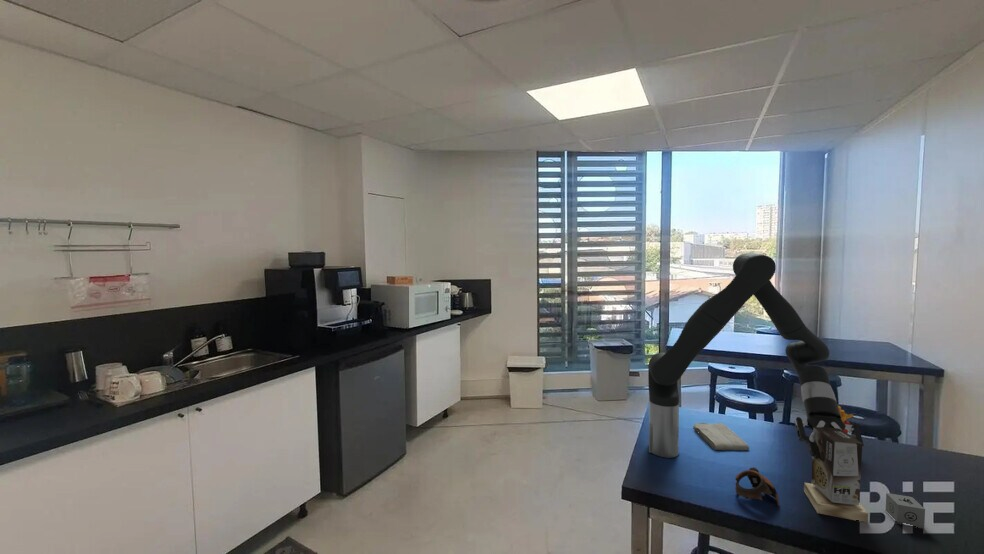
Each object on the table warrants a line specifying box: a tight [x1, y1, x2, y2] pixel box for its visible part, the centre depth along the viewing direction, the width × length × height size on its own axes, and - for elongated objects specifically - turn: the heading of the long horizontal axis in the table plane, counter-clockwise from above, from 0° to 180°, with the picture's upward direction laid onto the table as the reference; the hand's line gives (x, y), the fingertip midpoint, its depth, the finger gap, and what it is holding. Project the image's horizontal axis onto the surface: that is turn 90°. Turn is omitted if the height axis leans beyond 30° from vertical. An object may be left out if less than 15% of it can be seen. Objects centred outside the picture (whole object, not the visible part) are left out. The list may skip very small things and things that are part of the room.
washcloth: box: [692, 422, 750, 451], centre depth 141 cm, size 12×18×3 cm, turn 178°
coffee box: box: [810, 427, 864, 505], centre depth 102 cm, size 9×6×16 cm
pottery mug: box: [734, 466, 780, 506], centre depth 108 cm, size 12×10×8 cm
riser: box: [803, 481, 869, 523], centre depth 103 cm, size 10×10×3 cm
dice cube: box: [885, 492, 926, 530], centre depth 97 cm, size 5×5×5 cm
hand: (835, 460), depth 102 cm, fingers closed on coffee box, 7 cm apart
